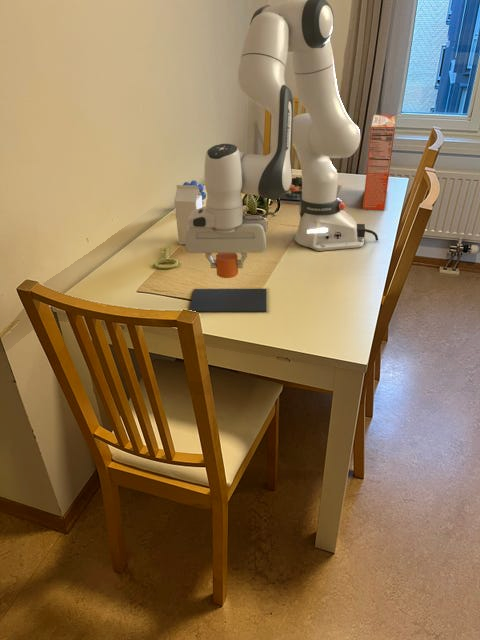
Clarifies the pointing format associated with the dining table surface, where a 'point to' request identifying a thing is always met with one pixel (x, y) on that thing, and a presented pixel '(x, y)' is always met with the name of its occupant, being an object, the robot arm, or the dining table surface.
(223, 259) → the cylinder
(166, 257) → the key
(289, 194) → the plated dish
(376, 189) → the red cereal box
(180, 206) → the milk carton
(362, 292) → the dining table surface
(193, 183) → the grapes
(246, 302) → the mat
